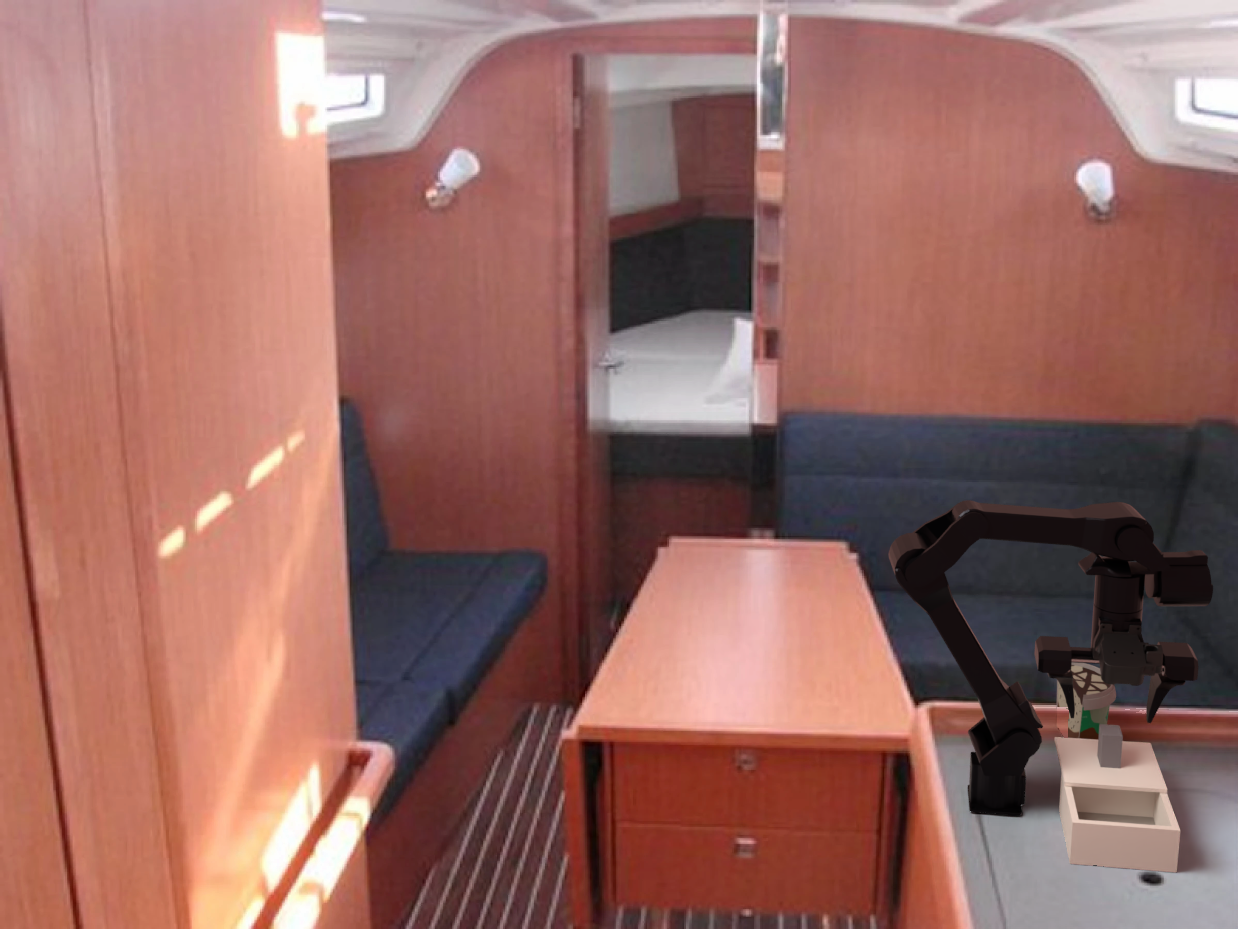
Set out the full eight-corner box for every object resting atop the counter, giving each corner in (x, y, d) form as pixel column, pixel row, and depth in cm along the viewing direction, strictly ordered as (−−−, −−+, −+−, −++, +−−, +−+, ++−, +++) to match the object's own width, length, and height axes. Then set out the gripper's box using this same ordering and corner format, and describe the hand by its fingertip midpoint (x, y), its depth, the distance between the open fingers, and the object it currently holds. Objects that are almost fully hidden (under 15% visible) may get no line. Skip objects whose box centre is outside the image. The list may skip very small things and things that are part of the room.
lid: (1064, 785, 162) (1066, 749, 161) (1054, 740, 174) (1056, 706, 172) (1167, 793, 160) (1170, 756, 159) (1150, 746, 171) (1152, 711, 170)
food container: (1125, 761, 179) (1130, 695, 176) (1080, 763, 179) (1084, 696, 176) (1095, 720, 191) (1099, 657, 188) (1052, 721, 191) (1056, 658, 188)
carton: (1069, 863, 156) (1072, 822, 155) (1059, 811, 167) (1061, 772, 166) (1176, 872, 154) (1180, 830, 152) (1158, 818, 165) (1161, 779, 163)
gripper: (1045, 626, 156) (1038, 744, 160) (1212, 634, 152) (1201, 755, 156) (1037, 592, 166) (1031, 704, 171) (1193, 599, 162) (1183, 713, 166)
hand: (1110, 719), depth 166 cm, fingers open, 9 cm apart
